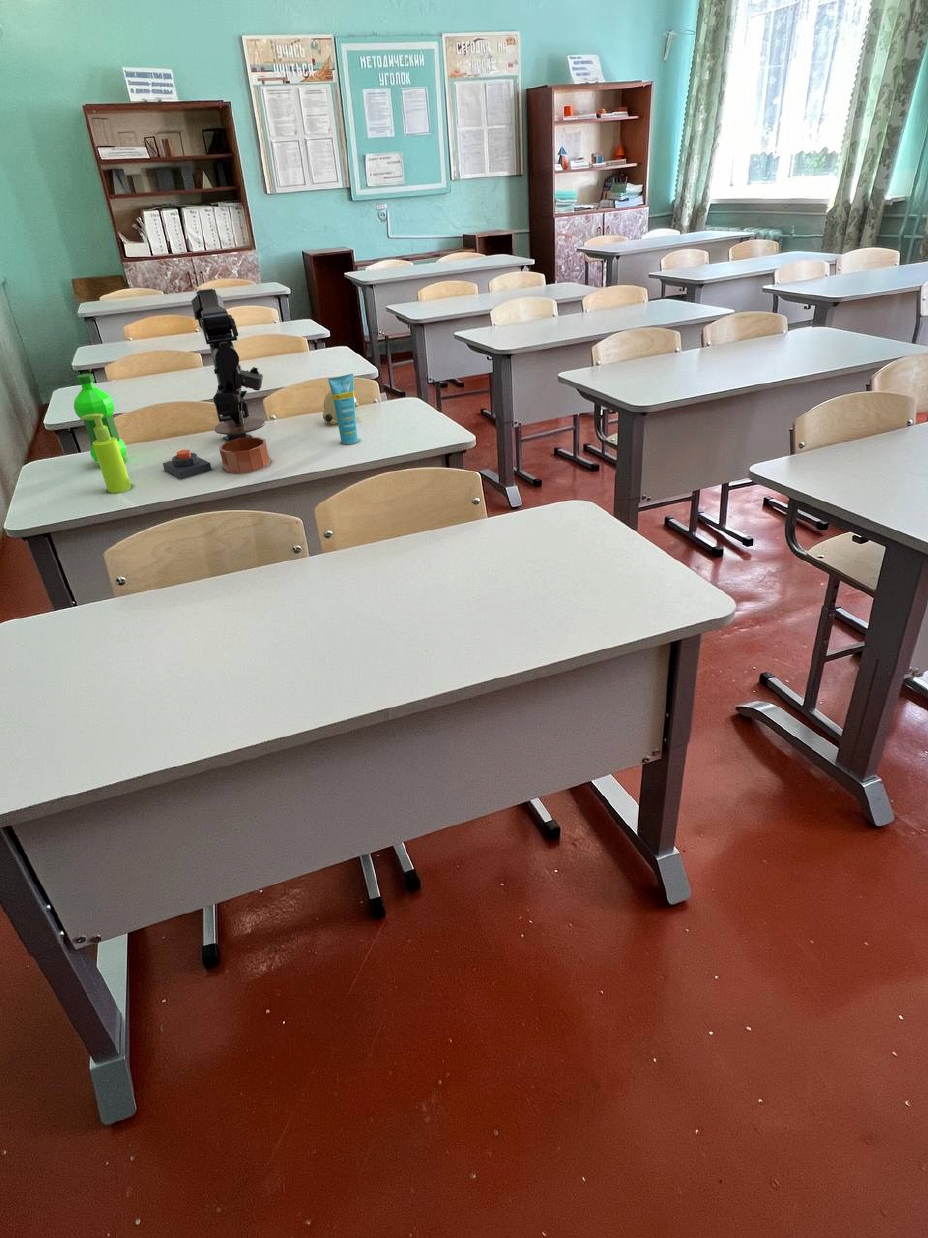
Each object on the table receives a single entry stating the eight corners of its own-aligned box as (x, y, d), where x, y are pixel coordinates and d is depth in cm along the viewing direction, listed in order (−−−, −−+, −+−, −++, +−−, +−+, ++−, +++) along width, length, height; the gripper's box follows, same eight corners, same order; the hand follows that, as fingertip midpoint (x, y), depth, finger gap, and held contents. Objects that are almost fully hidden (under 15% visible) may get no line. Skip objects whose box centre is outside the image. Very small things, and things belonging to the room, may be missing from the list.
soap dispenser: (108, 486, 204) (84, 412, 193) (134, 483, 204) (111, 409, 193) (101, 494, 199) (75, 419, 188) (127, 491, 199) (104, 416, 188)
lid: (206, 428, 206) (202, 413, 204) (250, 416, 214) (247, 401, 212) (228, 438, 198) (225, 422, 195) (273, 425, 205) (270, 410, 203)
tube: (342, 446, 219) (331, 379, 209) (335, 442, 223) (324, 376, 213) (364, 440, 223) (356, 374, 213) (357, 437, 226) (348, 371, 216)
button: (175, 458, 209) (174, 452, 208) (188, 454, 211) (186, 448, 210) (181, 461, 206) (179, 454, 205) (193, 457, 208) (192, 451, 207)
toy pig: (341, 428, 246) (313, 409, 242) (362, 397, 243) (334, 378, 238) (343, 436, 238) (314, 417, 233) (365, 405, 235) (336, 384, 230)
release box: (164, 470, 212) (160, 456, 209) (194, 461, 216) (191, 448, 214) (181, 479, 204) (177, 465, 202) (211, 470, 209) (208, 456, 207)
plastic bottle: (108, 471, 214) (79, 381, 201) (86, 466, 219) (56, 378, 206) (138, 459, 221) (112, 372, 208) (115, 454, 226) (88, 369, 213)
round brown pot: (216, 466, 212) (211, 445, 208) (256, 454, 218) (251, 434, 215) (237, 476, 203) (232, 455, 200) (278, 463, 210) (273, 442, 207)
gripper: (251, 368, 189) (263, 429, 197) (261, 352, 205) (273, 409, 213) (206, 372, 189) (220, 433, 197) (220, 355, 205) (233, 413, 213)
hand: (238, 421), depth 205 cm, fingers closed on lid, 3 cm apart
